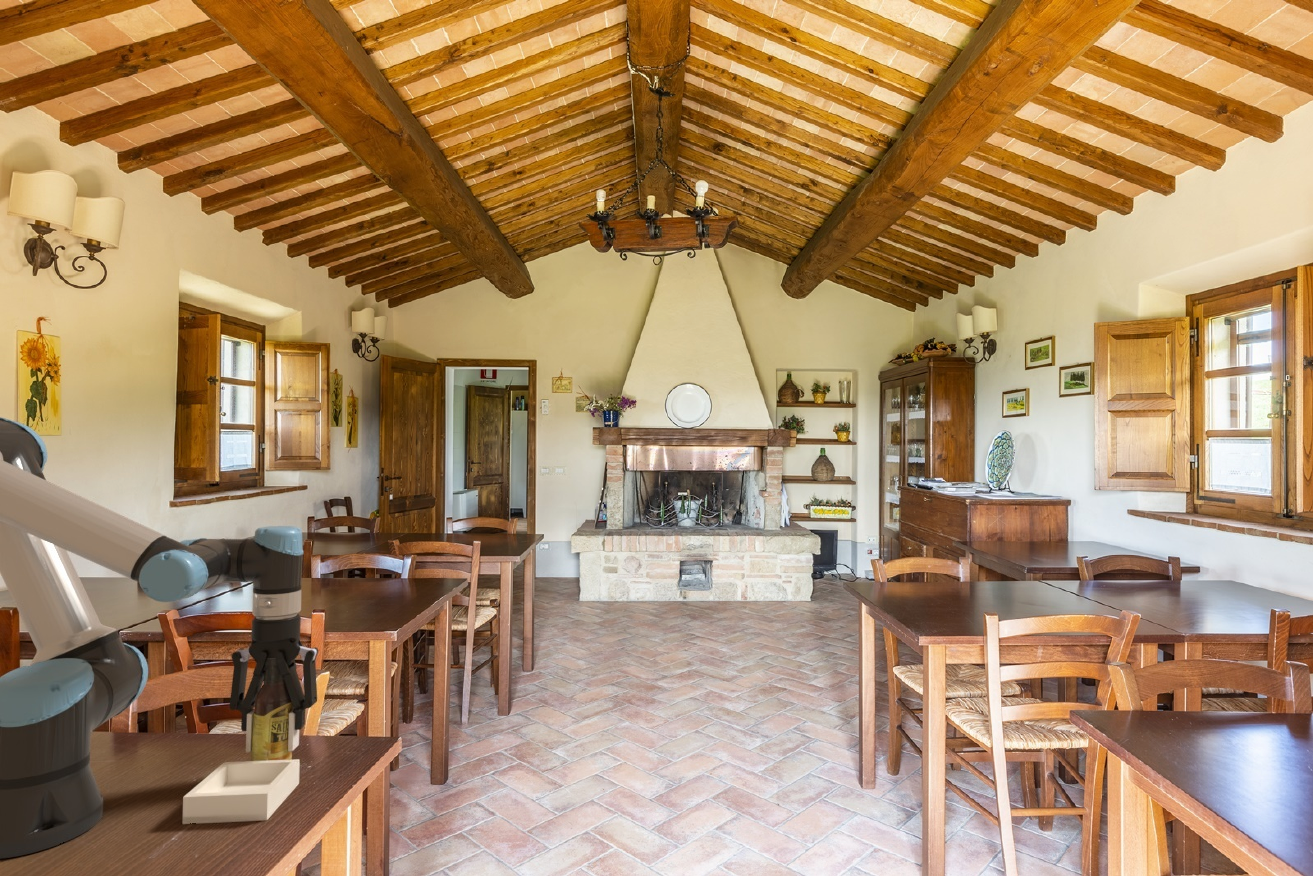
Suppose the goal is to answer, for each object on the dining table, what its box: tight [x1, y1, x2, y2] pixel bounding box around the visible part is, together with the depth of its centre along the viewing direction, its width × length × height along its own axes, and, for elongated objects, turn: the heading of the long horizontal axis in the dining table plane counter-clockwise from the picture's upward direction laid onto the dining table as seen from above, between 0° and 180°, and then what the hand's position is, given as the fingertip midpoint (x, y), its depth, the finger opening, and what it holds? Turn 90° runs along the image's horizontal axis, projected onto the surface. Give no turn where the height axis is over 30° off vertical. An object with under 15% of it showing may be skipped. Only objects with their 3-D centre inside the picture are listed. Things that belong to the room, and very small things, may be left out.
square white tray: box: [182, 758, 301, 825], centre depth 110 cm, size 12×12×4 cm
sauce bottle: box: [250, 658, 294, 761], centre depth 121 cm, size 6×6×20 cm
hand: (272, 748), depth 121 cm, fingers closed on sauce bottle, 6 cm apart
